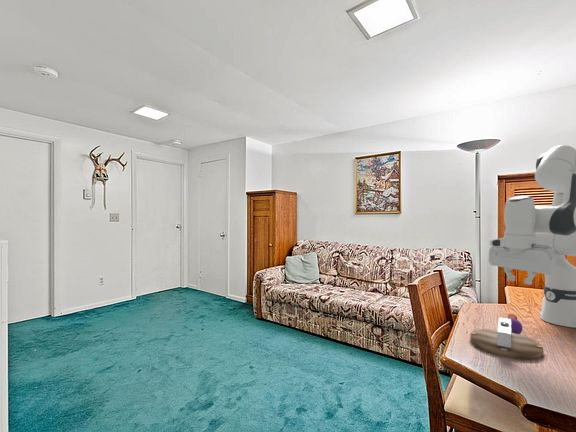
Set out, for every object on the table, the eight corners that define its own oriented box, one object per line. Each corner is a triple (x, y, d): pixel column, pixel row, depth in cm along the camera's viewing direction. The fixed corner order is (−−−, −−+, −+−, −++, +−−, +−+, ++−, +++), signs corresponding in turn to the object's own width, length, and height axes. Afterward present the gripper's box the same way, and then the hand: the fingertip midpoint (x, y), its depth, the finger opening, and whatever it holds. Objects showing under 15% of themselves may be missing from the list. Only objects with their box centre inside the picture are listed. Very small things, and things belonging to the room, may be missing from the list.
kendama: (522, 313, 125) (524, 323, 109) (519, 327, 126) (520, 339, 110) (505, 308, 129) (504, 317, 113) (502, 321, 129) (500, 332, 113)
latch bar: (499, 329, 111) (499, 315, 111) (511, 331, 109) (511, 317, 109) (497, 345, 97) (497, 329, 97) (511, 348, 95) (511, 332, 95)
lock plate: (473, 330, 117) (473, 323, 117) (540, 343, 105) (540, 335, 105) (467, 348, 101) (467, 341, 101) (545, 366, 89) (545, 357, 89)
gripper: (560, 245, 96) (560, 288, 96) (497, 240, 116) (497, 276, 116) (547, 245, 94) (547, 290, 94) (485, 240, 114) (485, 277, 114)
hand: (519, 282), depth 105 cm, fingers open, 4 cm apart
